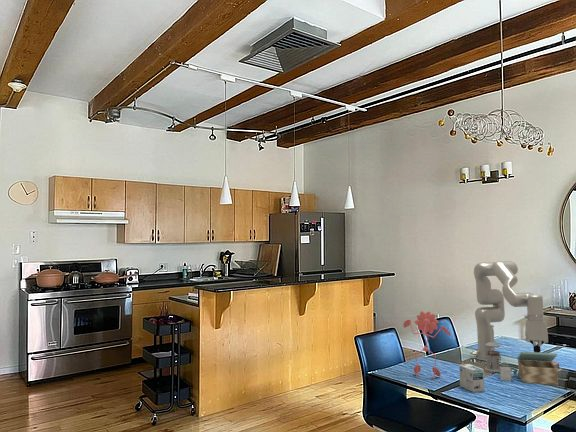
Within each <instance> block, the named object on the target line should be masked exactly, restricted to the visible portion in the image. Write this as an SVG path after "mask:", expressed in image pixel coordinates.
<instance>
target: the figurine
mask: <svg viewBox="0 0 576 432" xmlns="http://www.w3.org/2000/svg"><path fill="white" fill-rule="evenodd" d="M416 318H417V320H415V321H414V323H415V324H416V325H417V330H418V331H421V332H414V329H413V325H412V320H411V319H410V318H409V319H406V320H405V321H404V322H403V325H402V326H403V328H407V327H409V326H410V329H411V332H412V334H413V335H424V336H425V337H426V338H427V339H426V343H425V346H424V347H422V348H423V349H422V350H420V351H418V352H416V353H415V361H416V365H414V367H413V372H414V374H415V376H416V378H418V374H419V373H420V372H421V371H422V370H421V369H422V368H421V366H420V364H418V359H417V354H419V353H420V352H421V353H422V351H424V352H430V353H431V354H432V355H434V365H436V362H437V361H436V359H437V355H436V354H435V353H433V352H432V351H431V350H430V349H429V347H428V342H429V339H430V338H429V337H431V338H432V339H434V338H435V337H436V336H437V335H438V334H439V332H440V331H443V332H444V333H445V334H446V335H448V336H449V337H451V332H450V331H449V329H448V328H446V327H445V326H443V325H441V327H440V328H439V330H438V324H439V320H437V318H436V313H431V311H429V310H428V311H426V312H424V311H423V310H421V311H420V313H419V314H417V315H416ZM434 330H438V331H437V332H436V333H435V334H434V335H432V334H433V333H434ZM428 333H429V334H428ZM430 334H431V335H430ZM431 369H432V373H433V378H432V379H434V380H435V375H436V376H438V377H439V378H440V377H441V371H440V370H439V369H438V368H437V367H436V366H432V368H431Z"/></svg>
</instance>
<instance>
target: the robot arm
mask: <svg viewBox="0 0 576 432" xmlns="http://www.w3.org/2000/svg"><path fill="white" fill-rule="evenodd" d="M518 270H519V268H518V265H517V264H516V262H515V261H512V260H499V261H491V262H490V261H484V262H479V263H476V264H475V265H474V268H473V275H474V279H475V284H476V287H475V288H476V301H477V303H478V304H479V305H482V307H481V306H480V307H477V309H475V311H474V317H475V322H476V329H477V330H476V331H477V332H476V334H477V335H476V336H477V350H475V351H473V350H470V351H469V353H470V355H474V356H475V358H476V359H477V360H480V361H484V362H486V361H487V360H486V353H487V352H486V351H488V349H489V350H491V349H492V351H496V350H495V347H488V346H486V345H485V344H486V343H488V342H495V331H494V327H490V326H491V325H492V324H491V323H500V322H503V321H504V319H505V314H506V312H505V301H507V303H508V304H509V305H510V306H511V307H515V308H523V307H524V308H525V307H526V310H527V311H526V312H527V314H525V315H524V316H523V317H524V319H526V321H525V327H524V329H525V331H524V333H525V339H524V340H525V342H527V343H530V344H531V345H533V352H539V353H542V352H541V346H543V344H547V343H549V333H548V325H547V322H546V321H545V319H544V300H543V299H544V297H543V295H541V294H538V293H537V294H534V293H532V292H514V290H513V289H512V288H513V287H514V286H515V285H517V283H518V276H516V275H517V273H518V272H519V271H518ZM488 277H496V278H497V279H498V281H499V282H500V283H501V284H502V288H501V290H500V289H497V288H492V282H491V280H490V279H489V278H488ZM489 305H492V306H489ZM492 329H493V341H492ZM536 343H537V344H536ZM491 358H492V357H491ZM490 360H492V359H490Z"/></svg>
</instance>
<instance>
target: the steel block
mask: <svg viewBox="0 0 576 432" xmlns="http://www.w3.org/2000/svg"><path fill="white" fill-rule="evenodd" d="M499 371H500V372H499V379H500V381H501V382H502V381H503V382H512V369H511V367H509V366H501V367H499Z"/></svg>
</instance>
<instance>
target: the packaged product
mask: <svg viewBox="0 0 576 432" xmlns="http://www.w3.org/2000/svg"><path fill="white" fill-rule="evenodd" d="M545 362H548V361H545ZM552 363H553V365H554V366H555V367H556V368H557V369H558V373H560V372H562V371H564V368H560V363H559V362H558V361H553V360H552Z"/></svg>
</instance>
